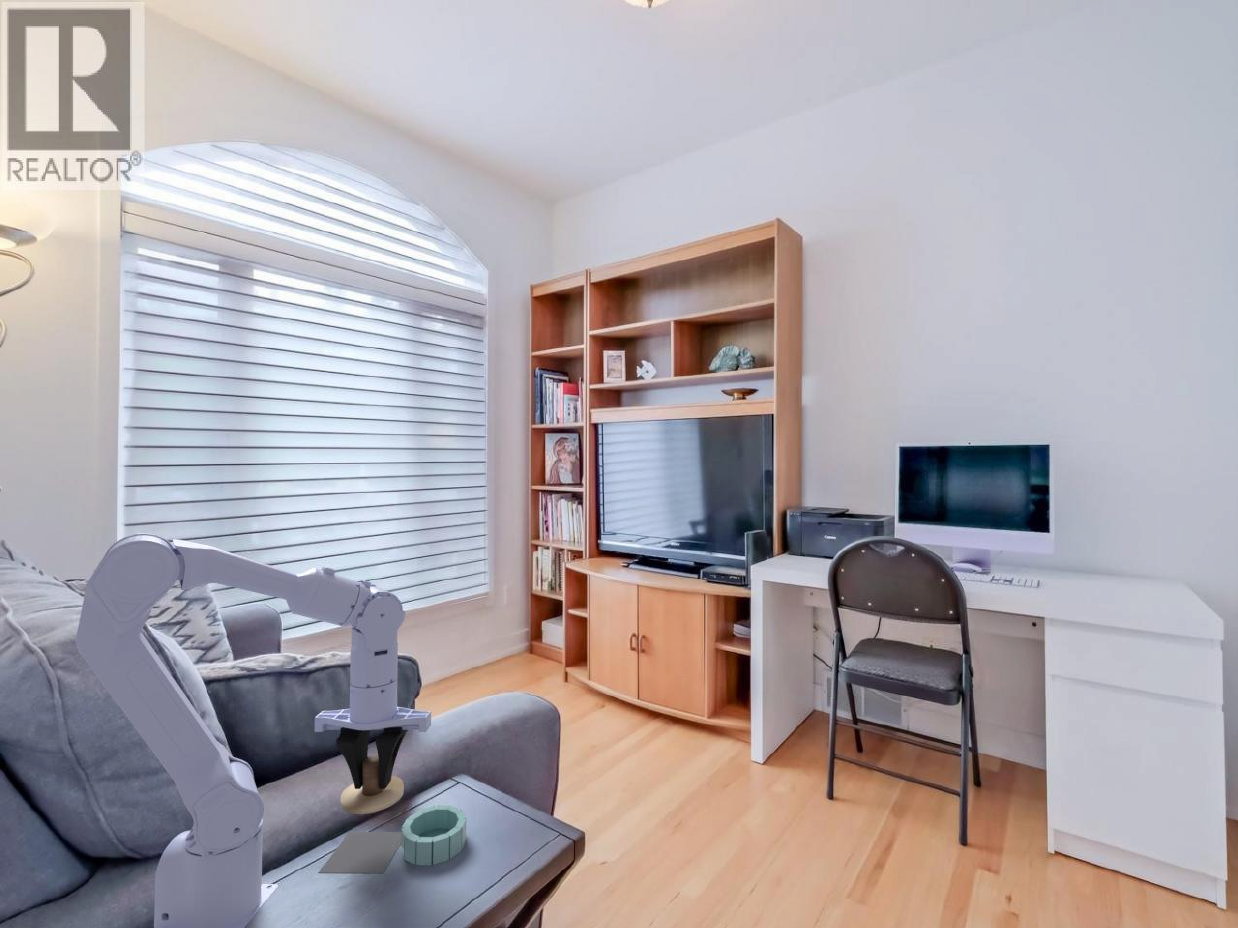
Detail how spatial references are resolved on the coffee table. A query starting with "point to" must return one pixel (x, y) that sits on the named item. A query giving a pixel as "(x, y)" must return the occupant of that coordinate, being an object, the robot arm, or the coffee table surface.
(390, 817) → the coffee table surface
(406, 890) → the coffee table surface
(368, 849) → the mat
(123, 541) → the robot arm
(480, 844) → the coffee table surface
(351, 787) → the lid
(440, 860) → the bowl
